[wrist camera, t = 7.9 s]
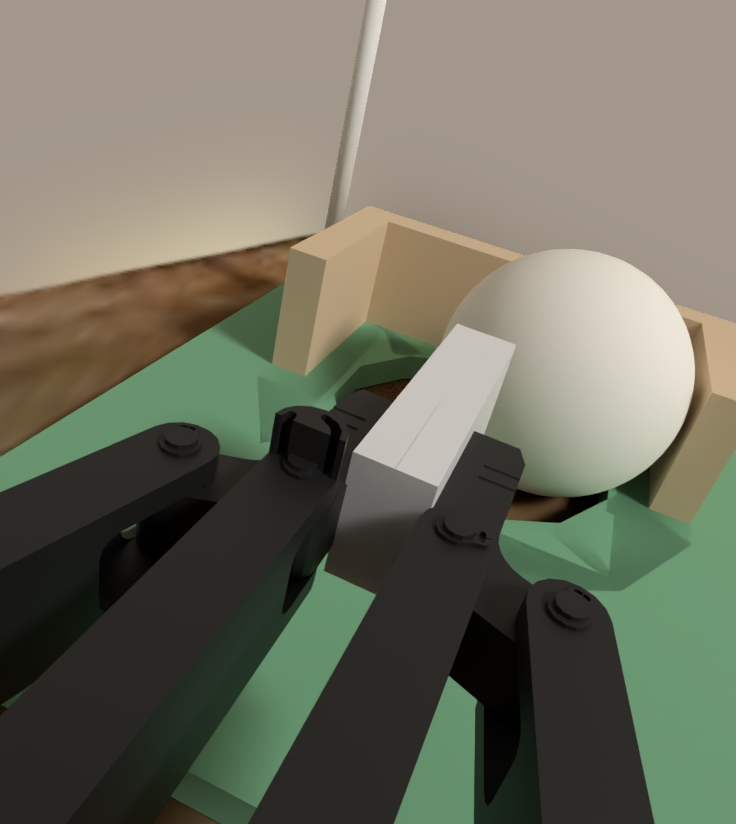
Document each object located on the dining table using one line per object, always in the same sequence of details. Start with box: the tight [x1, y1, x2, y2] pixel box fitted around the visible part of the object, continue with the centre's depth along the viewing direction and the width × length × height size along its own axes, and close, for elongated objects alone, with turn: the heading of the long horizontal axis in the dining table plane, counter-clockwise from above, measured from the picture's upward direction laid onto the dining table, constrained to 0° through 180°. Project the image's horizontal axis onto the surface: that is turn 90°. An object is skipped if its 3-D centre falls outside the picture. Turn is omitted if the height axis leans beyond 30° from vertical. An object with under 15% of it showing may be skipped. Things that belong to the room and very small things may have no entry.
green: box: [0, 0, 736, 824], centre depth 19 cm, size 24×26×21 cm
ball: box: [442, 249, 695, 497], centre depth 26 cm, size 9×9×9 cm
